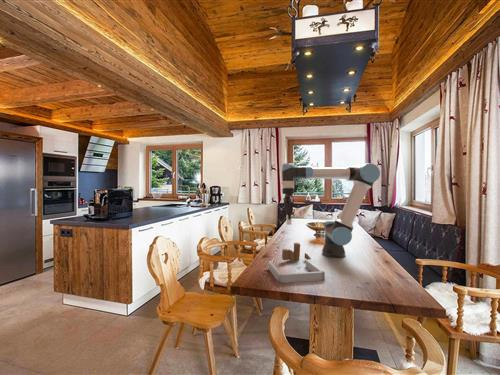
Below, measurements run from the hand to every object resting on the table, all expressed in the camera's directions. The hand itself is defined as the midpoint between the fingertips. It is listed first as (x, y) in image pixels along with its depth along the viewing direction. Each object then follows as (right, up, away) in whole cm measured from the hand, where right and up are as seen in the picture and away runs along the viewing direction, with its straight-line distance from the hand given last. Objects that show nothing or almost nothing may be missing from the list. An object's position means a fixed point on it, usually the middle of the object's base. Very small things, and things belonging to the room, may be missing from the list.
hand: (288, 224), depth 162 cm
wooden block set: (+4, -23, -1) cm, 23 cm away
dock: (-1, -23, -24) cm, 34 cm away
